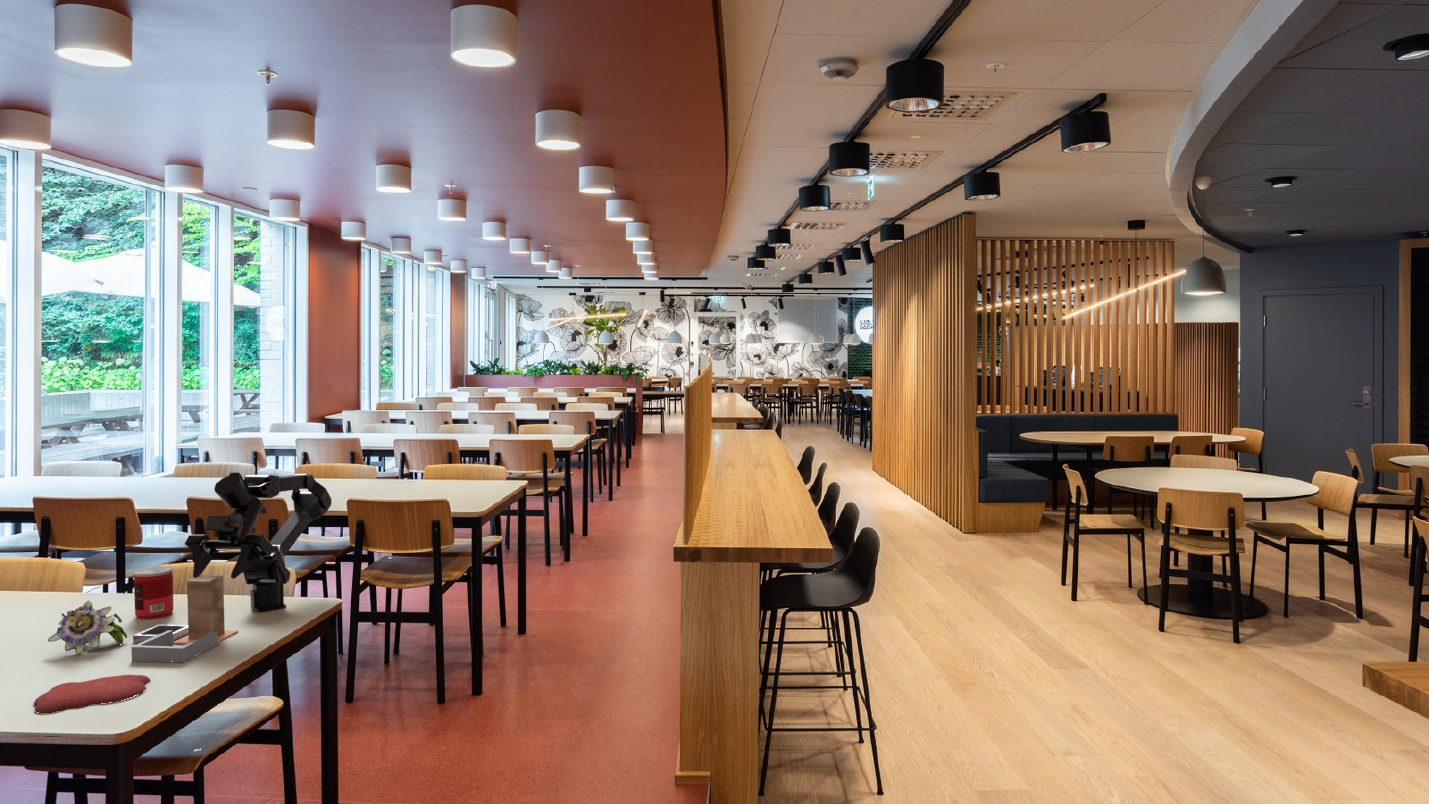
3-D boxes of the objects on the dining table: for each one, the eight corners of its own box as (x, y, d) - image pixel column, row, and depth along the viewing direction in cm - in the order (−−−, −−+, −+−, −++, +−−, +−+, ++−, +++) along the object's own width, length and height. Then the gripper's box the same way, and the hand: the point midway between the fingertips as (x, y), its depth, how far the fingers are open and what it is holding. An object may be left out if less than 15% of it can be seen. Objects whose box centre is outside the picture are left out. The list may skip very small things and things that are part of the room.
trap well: (158, 630, 199) (158, 624, 199) (192, 631, 198) (192, 625, 198) (133, 642, 191) (133, 635, 191) (168, 643, 190) (168, 636, 190)
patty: (26, 719, 151) (26, 708, 151) (41, 692, 163) (40, 682, 163) (146, 701, 159) (146, 690, 159) (151, 676, 172) (151, 666, 171)
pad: (200, 631, 198) (200, 629, 198) (238, 632, 198) (238, 630, 198) (173, 644, 190) (173, 642, 190) (212, 645, 189) (212, 643, 189)
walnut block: (203, 632, 196) (202, 575, 196) (224, 632, 196) (223, 575, 195) (188, 639, 191) (187, 580, 191) (210, 640, 191) (208, 581, 191)
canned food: (181, 610, 214) (179, 566, 214) (157, 620, 207) (155, 574, 206) (152, 609, 215) (150, 565, 215) (127, 619, 207) (125, 573, 207)
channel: (168, 643, 190) (168, 630, 189) (217, 645, 189) (217, 631, 189) (131, 661, 179) (131, 646, 178) (183, 662, 178) (182, 648, 178)
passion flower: (81, 678, 184) (37, 640, 178) (90, 653, 193) (49, 617, 188) (131, 644, 186) (89, 606, 181) (138, 621, 196) (99, 584, 191)
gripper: (187, 500, 202) (154, 559, 192) (262, 500, 200) (233, 559, 190) (213, 526, 211) (183, 584, 200) (285, 526, 208) (258, 585, 198)
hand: (213, 577), depth 197 cm, fingers open, 9 cm apart
